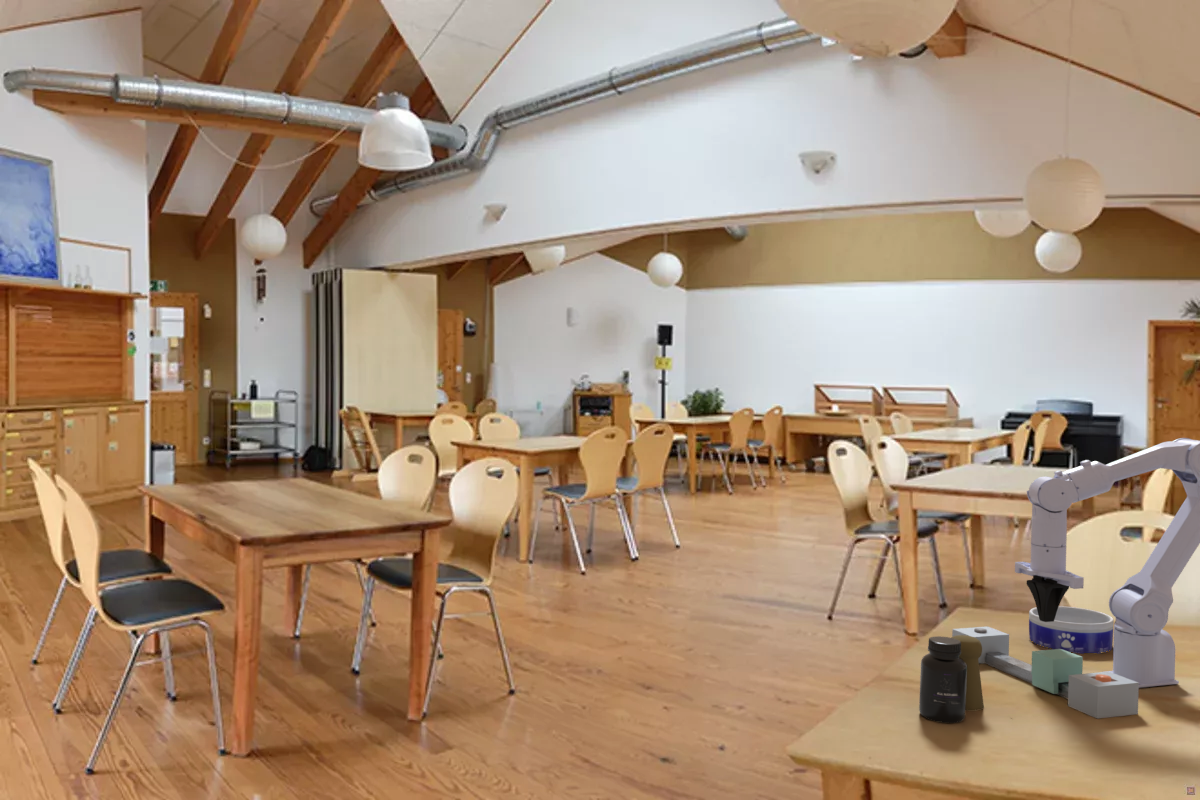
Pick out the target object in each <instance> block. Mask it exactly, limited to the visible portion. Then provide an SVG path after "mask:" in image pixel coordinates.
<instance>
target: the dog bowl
mask: <svg viewBox="0 0 1200 800" xmlns="http://www.w3.org/2000/svg"><path fill="white" fill-rule="evenodd" d="M1114 623H1115V621H1114V618H1113V617H1112V616H1111V615H1109V614H1107V613H1104V612H1101V611H1098V610H1093V609H1089V608H1088V609H1087V608H1083V607H1075V606H1074V607H1073V606H1063V605H1059V607H1058V610H1057V613H1056V616H1055V620H1054V621H1053V622H1043V621H1040V619H1039V615H1038V611H1037V607H1033V608H1031V609H1030V610H1029V611H1028V631H1029V632H1028V636H1029V640H1031V641H1033V642H1034V643H1033V642H1032V643H1033V644H1035V643H1036V644H1035V645H1037V644H1038V645H1037V646H1039V645H1041V646H1040V647H1042V646H1044V647H1043V648H1045V647H1048V648H1047V649H1049V648H1052V649H1051V650H1053V649H1062V650H1065V651H1068V652H1073V654H1084V653H1097V654H1102V653H1101V652H1105V653H1107V652H1106V651H1108V652H1110V651H1112V650H1113V645H1114ZM1109 650H1110V651H1109Z"/></svg>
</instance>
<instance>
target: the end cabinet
mask: <svg viewBox="0 0 1200 800" xmlns="http://www.w3.org/2000/svg"><path fill="white" fill-rule="evenodd" d="M1109 671H1110V670H1108V672H1105V671H1100V672H1099V671H1098V672H1087V673H1082V674H1076V675H1069V684H1068V699H1067V706H1068V707H1070V708H1071V709H1075V710H1076V711H1079V712H1081V713H1084V714H1086V715H1087V716H1090V717H1093V718H1095V719H1104V718H1114V717H1124V716H1133V715H1138V714H1139V692H1140V691H1139V689H1140V688H1139V683H1138V682H1136V681H1133V680H1130V679H1128V678H1125V677H1122V676H1119V675H1117V674H1114V673H1111V672H1109ZM1097 674H1102V675H1107V676H1110V677H1111V682H1101V681H1098V680H1096V675H1097Z"/></svg>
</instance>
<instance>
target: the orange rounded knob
mask: <svg viewBox="0 0 1200 800" xmlns="http://www.w3.org/2000/svg"><path fill="white" fill-rule="evenodd" d="M1096 680H1098V681H1101V682H1111V677H1110V676H1107V675H1102V674H1097V675H1096Z"/></svg>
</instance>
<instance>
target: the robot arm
mask: <svg viewBox="0 0 1200 800" xmlns="http://www.w3.org/2000/svg"><path fill="white" fill-rule="evenodd" d="M1079 463H1080V465H1079V466H1076V467H1073V468H1069V469H1067V470H1065V471H1062V470H1059V469H1058V470H1056V471H1054V472H1053V474H1054V475H1053V477H1051V476H1045V475H1044V476H1039V477H1037V478H1035V479H1034V480H1033V481H1032V482H1031V483H1030V485H1029V487H1028V490H1026V497H1027V499H1028V501H1029V502H1030V503H1031V504H1032V505H1031V520H1030V521H1031V522H1030V523H1031V524H1030V526H1031V530H1030V535H1031V537H1030V562H1026V561H1014V573H1015V574H1024V575H1027V576H1031V577H1032V578H1031V579H1027V580H1026V586H1027V587H1028V589H1029V590H1030V592H1031V595H1032V598H1033V601H1034V602H1035V606H1036V607H1037V611H1038V615H1039V619H1040V621H1043V622H1053V621H1054V620H1055V616H1056V613H1057V610H1058V607H1059V606H1060V604H1061V603H1062V599H1063V598H1064V597H1065V594H1066V593H1067V591H1068V590H1069V589H1073V590H1077V589H1078V590H1080V589H1084V581H1085V580H1084V579H1085V577H1083V576H1079V575H1077V574H1075V573H1073V572H1071V571H1068V570H1067V538H1068V537H1067V534H1068V532H1067V531H1068V528H1067V527H1068V518H1067V517H1068V512H1067V511H1068V509H1069V508H1070V507H1071V506H1072V504H1074V503H1078V502H1082V501H1083V500H1087V499H1089V498H1092V497H1096V496H1099V495H1103V494H1104V493H1108V492H1109V491H1111V490H1112V487H1113V486H1114V483H1115V482H1118V481H1121V480H1124V479H1128V478H1131V477H1135V476H1138V475H1142V474H1145V473H1148V472H1152V471H1155V470H1159V469H1165V470H1171V471H1172V472H1173V473H1174V474H1175V476H1176V477H1177V478H1178V479H1179V480H1180V482H1181V484H1182V487H1183V488H1184V491H1185V493H1186V498H1185V500H1184V501H1183V503H1182V504H1181V506H1180V507H1179V509H1178V511H1177V512H1176V514H1175V515H1174V517H1173V519H1172V520H1171V522H1170V523H1169V525H1168V527H1167V528H1166V530H1165V531H1164V532H1163V535H1161V538H1160V539H1159V541H1158V543H1157V544H1156V546H1155V547H1154V549H1153V550H1152V552H1151V554H1150V555H1149V556H1148V558H1147V560H1146V562H1145V563H1144V565H1143V566H1142V568H1141V569H1140V571H1138V572H1137V573H1135V574H1134V575H1131V576H1130V577H1129V578H1127V580H1126V581H1125V582H1124V584H1123V585H1122V586H1121V587H1119V588H1117V589H1116V590H1114V591H1113V592H1112V593H1111V595H1110V597H1109V600H1108V609H1109V611H1110V613H1111V614H1112V616H1113V617H1114V618H1115V621H1114V624H1113V649H1112V650H1113V651H1112V652H1113V653H1112V654H1113V655H1112V656H1113V658H1112V661H1113V662H1112V663H1113V664H1112V670H1108V671H1109V672H1111V673H1114V674H1117V675H1119V676H1122V677H1125V678H1128V679H1130V680H1133V681H1136V682H1138V683H1139V689H1141V688H1149V687H1150V688H1151V687H1157V686H1159V687H1160V686H1168V685H1178V684H1179V680H1177V679H1175V678H1176V677H1175V676H1176V675H1175V674H1176V643H1175V641H1174V639H1173V637H1172V635H1171V634H1170V633H1169V632H1168V631H1167V630H1164V628H1165V627H1166V625H1167V623H1168V620H1169V612H1170V608H1171V606H1172V605H1173V603H1174V595H1173V591H1172V588H1173V586H1174V585H1175V584H1176V581H1177V580H1178V579H1179V577H1180V575H1181V574H1182V573H1183V571H1184V569H1185V567H1186V566H1187V564H1188V563H1189V561H1190V559H1191V558H1192V556H1193V555H1194V553H1195V551H1196V550H1197V548H1198V547H1199V545H1200V440H1197V439H1192V438H1189V437H1180V438H1177V439H1176V438H1175V440H1172V441H1170V440H1169V441H1163V442H1161V443H1158V444H1156V445H1152V446H1151V447H1148V448H1144V449H1143V450H1140V451H1138V452H1135V453H1132V454H1130V455H1127V456H1124V457H1122V458H1119V459H1116V460H1114V461H1111V462H1109V463H1107V464H1105V463H1102V462H1100V461H1097V460H1094V461H1091V460H1089V459H1085V460H1082V461H1080V462H1079ZM1108 671H1104V672H1108Z"/></svg>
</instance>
